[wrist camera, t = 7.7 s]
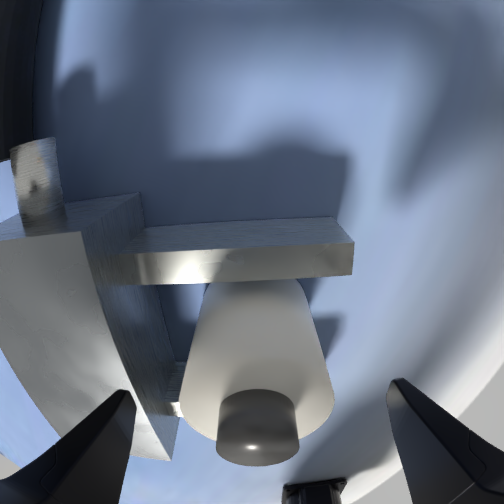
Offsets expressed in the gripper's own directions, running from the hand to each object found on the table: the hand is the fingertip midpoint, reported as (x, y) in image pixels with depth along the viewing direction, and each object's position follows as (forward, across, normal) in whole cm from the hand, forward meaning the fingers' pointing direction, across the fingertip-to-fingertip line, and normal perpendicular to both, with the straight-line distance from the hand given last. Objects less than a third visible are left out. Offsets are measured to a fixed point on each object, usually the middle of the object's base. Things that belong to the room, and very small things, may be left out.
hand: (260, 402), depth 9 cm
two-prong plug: (+6, +4, -1) cm, 7 cm away
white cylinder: (+6, 0, 0) cm, 6 cm away
